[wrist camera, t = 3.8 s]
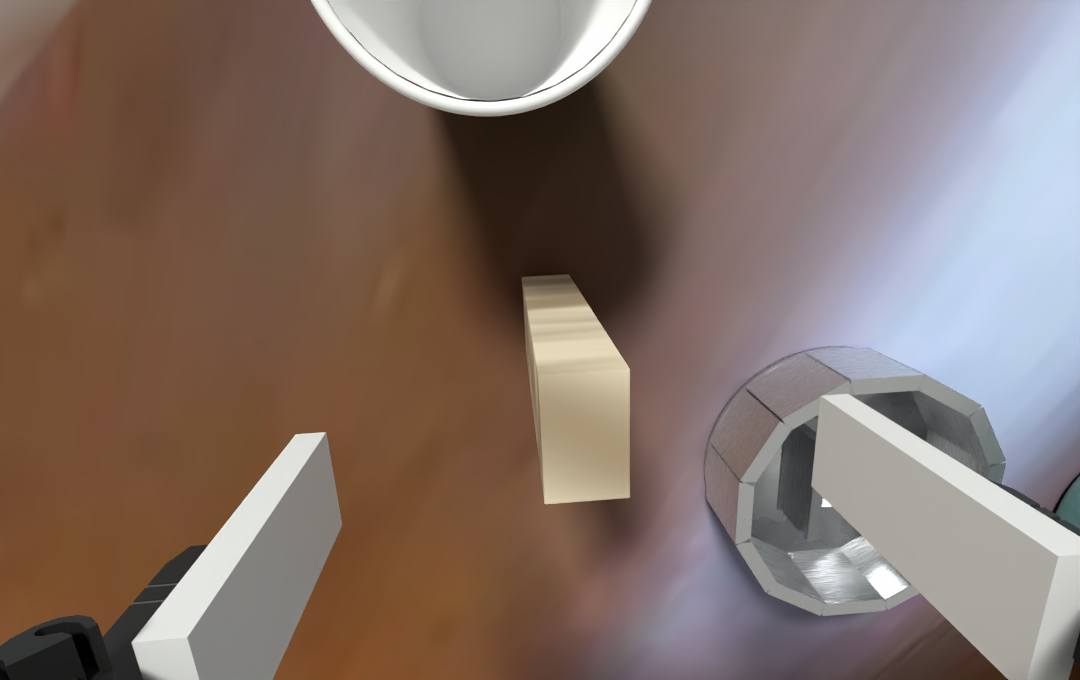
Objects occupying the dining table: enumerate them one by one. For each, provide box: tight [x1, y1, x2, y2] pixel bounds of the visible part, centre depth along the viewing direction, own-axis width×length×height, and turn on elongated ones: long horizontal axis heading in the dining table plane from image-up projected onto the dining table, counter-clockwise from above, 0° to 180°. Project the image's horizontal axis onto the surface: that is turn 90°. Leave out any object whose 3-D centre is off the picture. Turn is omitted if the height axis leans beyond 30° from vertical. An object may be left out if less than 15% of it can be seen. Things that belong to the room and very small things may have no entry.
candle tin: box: [704, 347, 1006, 616], centre depth 31 cm, size 14×14×5 cm
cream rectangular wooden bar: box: [522, 274, 630, 504], centre depth 23 cm, size 4×2×15 cm, turn 3°
